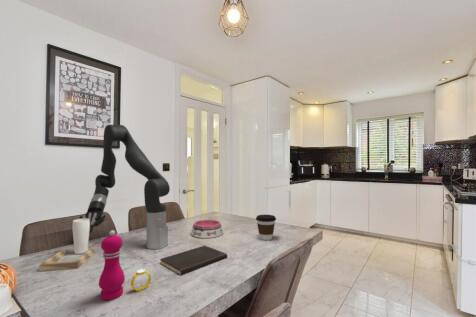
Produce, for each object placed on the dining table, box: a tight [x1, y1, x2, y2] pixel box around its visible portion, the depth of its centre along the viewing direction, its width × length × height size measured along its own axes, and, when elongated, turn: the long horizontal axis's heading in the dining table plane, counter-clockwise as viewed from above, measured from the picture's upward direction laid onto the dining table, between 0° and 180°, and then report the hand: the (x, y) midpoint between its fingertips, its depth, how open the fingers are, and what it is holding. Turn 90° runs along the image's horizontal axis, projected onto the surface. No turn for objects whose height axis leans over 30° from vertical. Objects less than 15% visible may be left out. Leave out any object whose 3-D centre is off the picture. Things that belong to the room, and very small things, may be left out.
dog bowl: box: [190, 219, 224, 240], centre depth 142 cm, size 18×19×7 cm
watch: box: [130, 268, 152, 292], centre depth 80 cm, size 6×3×6 cm, turn 130°
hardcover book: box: [159, 245, 228, 276], centre depth 103 cm, size 16×23×2 cm
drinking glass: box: [72, 218, 90, 255], centre depth 114 cm, size 7×7×15 cm
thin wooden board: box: [38, 247, 96, 272], centre depth 103 cm, size 17×13×2 cm
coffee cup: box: [255, 214, 277, 242], centre depth 131 cm, size 11×11×12 cm
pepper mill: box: [98, 229, 126, 301], centre depth 76 cm, size 7×7×20 cm
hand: (88, 233), depth 122 cm, fingers closed
